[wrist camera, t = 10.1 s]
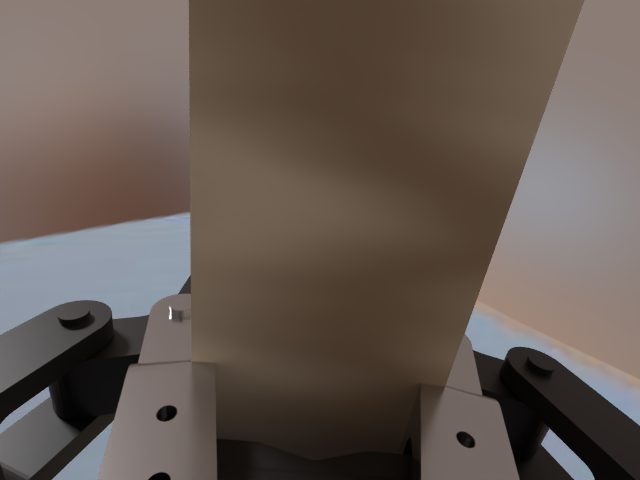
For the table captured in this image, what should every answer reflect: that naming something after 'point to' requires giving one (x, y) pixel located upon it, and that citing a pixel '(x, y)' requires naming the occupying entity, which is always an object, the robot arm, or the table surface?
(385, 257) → the birch board
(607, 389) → the table surface
